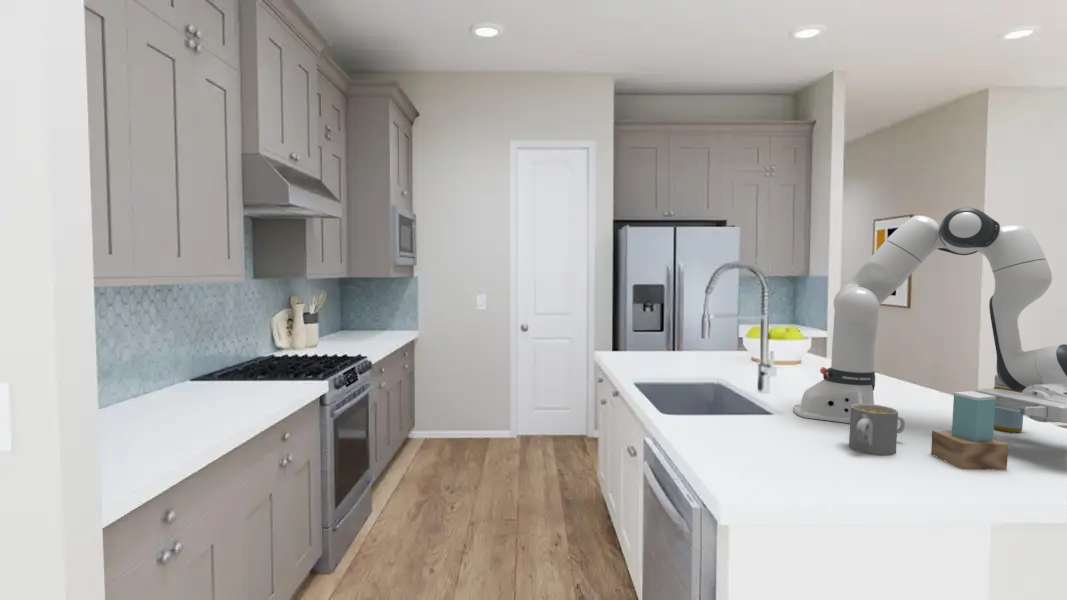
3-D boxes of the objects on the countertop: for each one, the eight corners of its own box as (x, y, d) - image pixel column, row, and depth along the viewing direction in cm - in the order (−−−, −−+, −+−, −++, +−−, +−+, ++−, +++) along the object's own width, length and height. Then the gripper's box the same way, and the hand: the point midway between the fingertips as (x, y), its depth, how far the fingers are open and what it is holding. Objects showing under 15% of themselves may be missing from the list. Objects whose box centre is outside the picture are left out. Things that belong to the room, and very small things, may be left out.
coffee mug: (864, 440, 148) (866, 402, 148) (904, 451, 140) (906, 411, 139) (831, 447, 142) (833, 407, 141) (871, 459, 133) (873, 417, 133)
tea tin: (975, 441, 129) (977, 397, 128) (951, 434, 134) (953, 392, 134) (993, 439, 131) (996, 396, 130) (968, 433, 136) (971, 391, 135)
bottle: (1010, 426, 164) (1013, 374, 163) (1028, 433, 157) (1032, 379, 156) (983, 425, 165) (987, 373, 164) (1000, 432, 158) (1004, 378, 157)
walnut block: (960, 469, 128) (962, 443, 128) (930, 455, 138) (932, 430, 138) (1006, 471, 128) (1008, 444, 127) (973, 456, 138) (975, 431, 137)
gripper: (999, 381, 148) (958, 383, 144) (1095, 399, 129) (1050, 402, 125) (998, 405, 149) (957, 408, 145) (1093, 427, 129) (1049, 431, 125)
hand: (1001, 406), depth 135 cm, fingers open, 8 cm apart
